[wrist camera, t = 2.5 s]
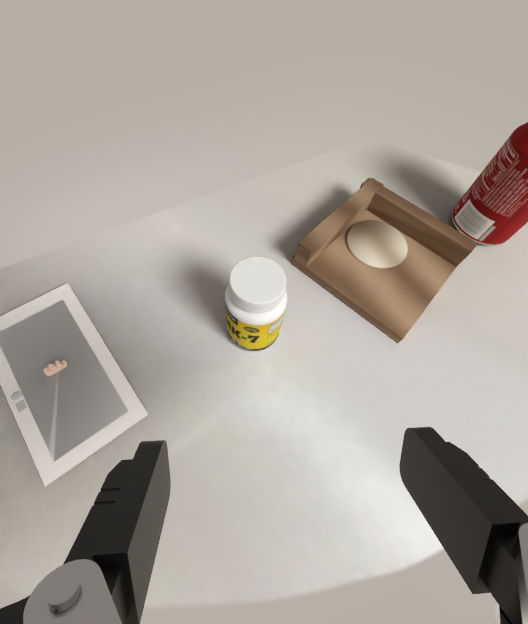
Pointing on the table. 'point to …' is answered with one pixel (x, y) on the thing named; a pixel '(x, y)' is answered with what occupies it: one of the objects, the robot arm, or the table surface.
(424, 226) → the wooden tray
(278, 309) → the supplement bottle
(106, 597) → the robot arm
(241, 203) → the table surface
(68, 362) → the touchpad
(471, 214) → the soda can
